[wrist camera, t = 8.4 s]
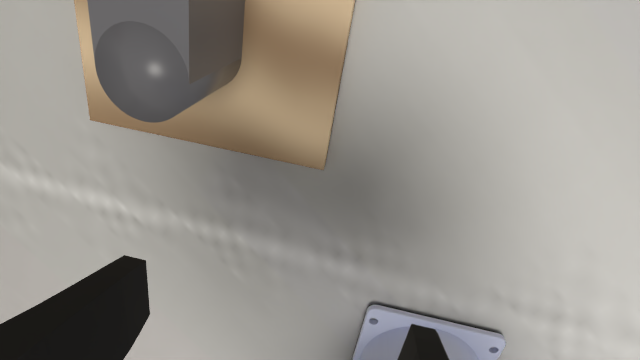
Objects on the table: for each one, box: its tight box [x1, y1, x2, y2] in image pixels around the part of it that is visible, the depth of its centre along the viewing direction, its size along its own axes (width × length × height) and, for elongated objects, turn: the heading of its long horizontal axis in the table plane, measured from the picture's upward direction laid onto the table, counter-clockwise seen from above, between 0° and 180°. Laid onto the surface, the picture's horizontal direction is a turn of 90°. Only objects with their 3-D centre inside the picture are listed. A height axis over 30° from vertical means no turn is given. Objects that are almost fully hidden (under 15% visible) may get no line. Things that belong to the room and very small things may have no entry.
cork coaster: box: [74, 0, 355, 170], centre depth 16 cm, size 12×12×1 cm
